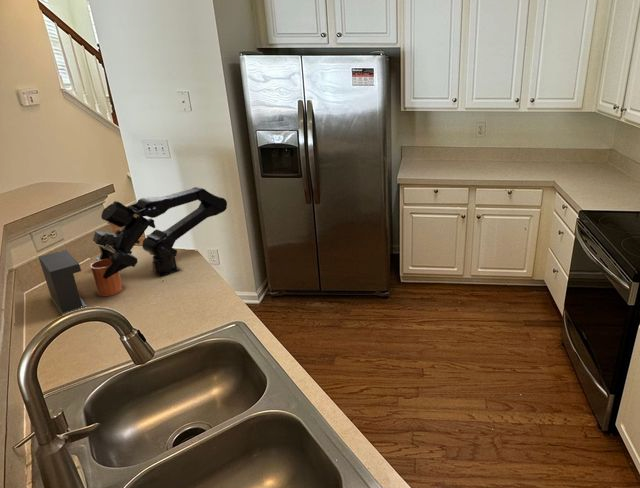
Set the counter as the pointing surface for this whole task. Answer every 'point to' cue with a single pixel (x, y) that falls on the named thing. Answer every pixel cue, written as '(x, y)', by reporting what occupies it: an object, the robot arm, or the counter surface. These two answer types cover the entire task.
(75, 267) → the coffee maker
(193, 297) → the counter surface
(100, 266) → the cup
